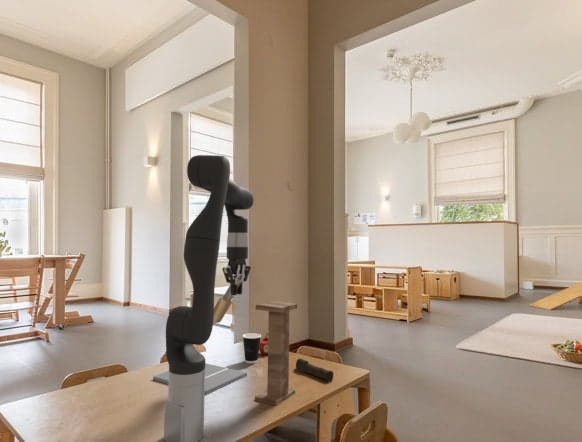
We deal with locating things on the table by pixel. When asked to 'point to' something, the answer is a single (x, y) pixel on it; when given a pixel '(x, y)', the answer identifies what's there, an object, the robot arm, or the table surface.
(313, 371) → the hand tool
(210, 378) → the flat grey board
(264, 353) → the apple
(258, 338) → the dixie cup
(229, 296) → the wood and grey bar
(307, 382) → the table surface
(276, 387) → the walnut stand
